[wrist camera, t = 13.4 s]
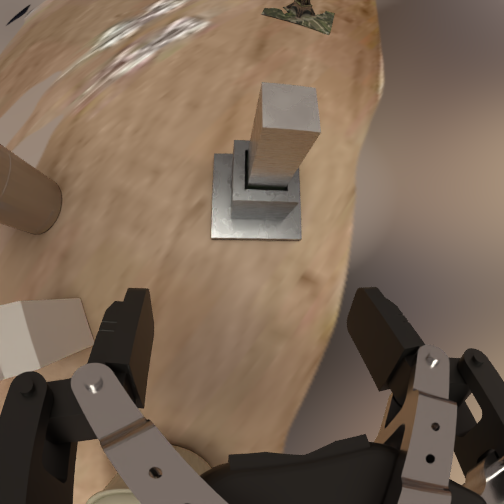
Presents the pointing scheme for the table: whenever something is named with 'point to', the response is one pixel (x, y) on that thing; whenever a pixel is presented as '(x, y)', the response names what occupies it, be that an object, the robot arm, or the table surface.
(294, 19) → the eiffel tower figurine
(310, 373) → the table surface
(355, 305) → the robot arm
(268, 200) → the jack stand base
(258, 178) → the column
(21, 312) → the milk carton
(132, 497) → the canister
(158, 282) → the table surface
